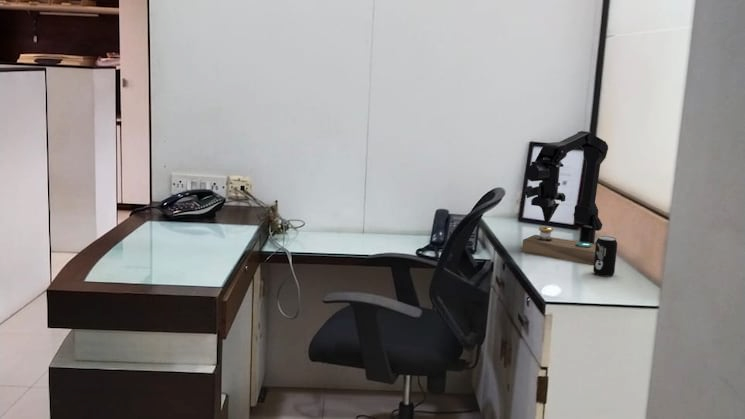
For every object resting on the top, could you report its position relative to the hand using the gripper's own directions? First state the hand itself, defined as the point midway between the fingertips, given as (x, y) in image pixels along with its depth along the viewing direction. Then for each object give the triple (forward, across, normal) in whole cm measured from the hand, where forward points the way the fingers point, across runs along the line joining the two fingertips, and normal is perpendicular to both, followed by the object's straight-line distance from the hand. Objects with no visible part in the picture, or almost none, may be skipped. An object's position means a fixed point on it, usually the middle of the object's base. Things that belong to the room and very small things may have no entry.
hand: (546, 223), depth 264 cm
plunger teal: (+11, 0, +14) cm, 17 cm away
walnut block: (+11, 0, +7) cm, 13 cm away
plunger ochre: (+7, 0, 0) cm, 7 cm away
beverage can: (+11, +16, +26) cm, 32 cm away
